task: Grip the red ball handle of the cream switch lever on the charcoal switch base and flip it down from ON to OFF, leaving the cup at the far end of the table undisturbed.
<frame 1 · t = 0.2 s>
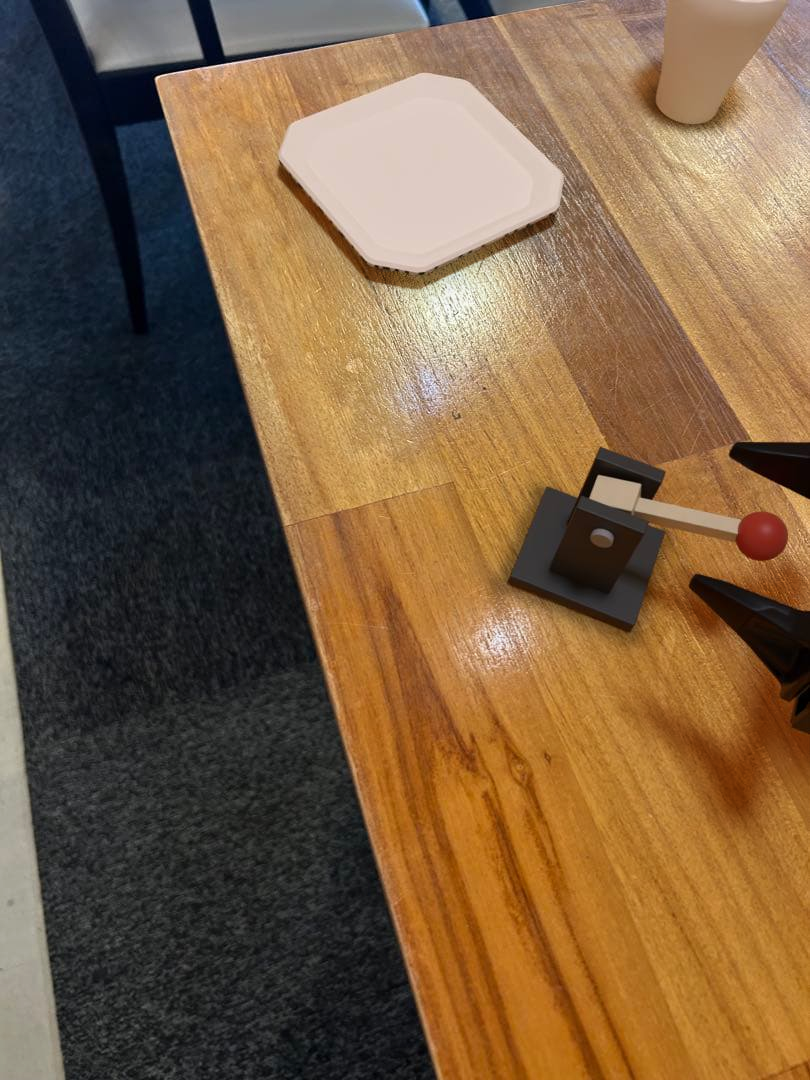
hand: (712, 511, 53), 15 cm above the table, tool horizontal, fingers open, 9 cm apart
switch lever: (686, 519, 59), point 9 cm above the table, hinge at 15.0°
cup: (685, 106, 93), on the table
plate: (419, 185, 85), on the table
switch base: (585, 560, 68), on the table
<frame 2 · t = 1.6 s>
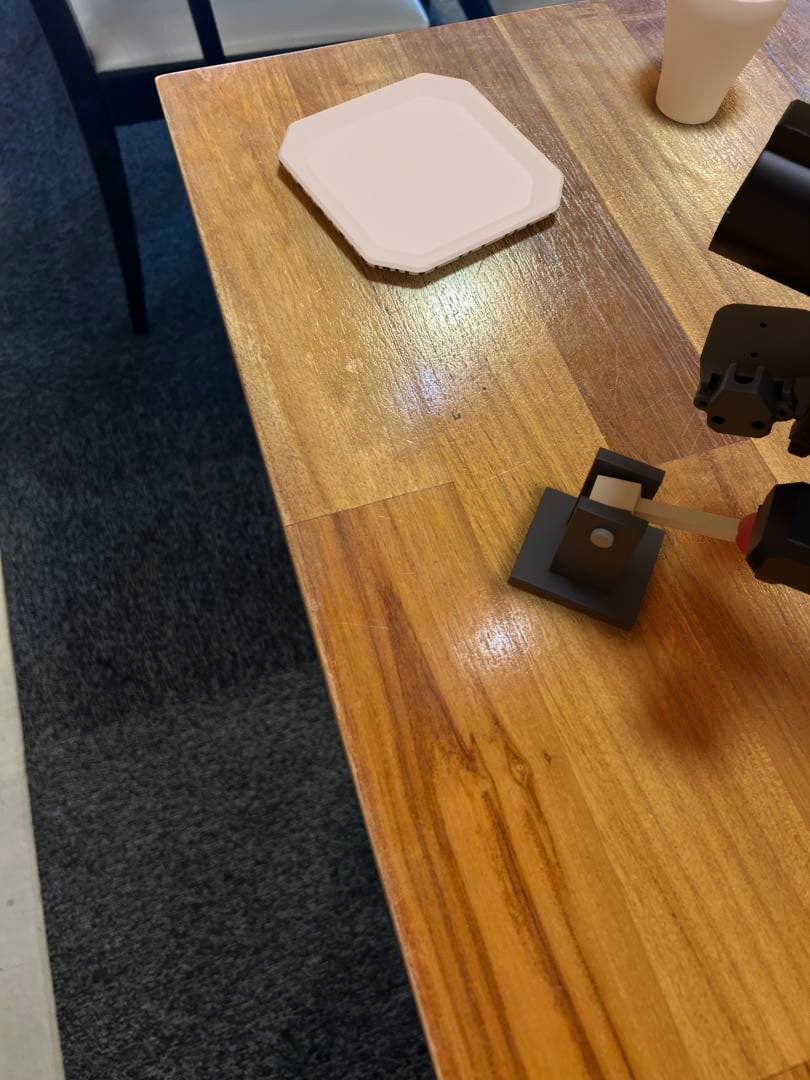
hand: (779, 513, 55), 13 cm above the table, tool pointing down, fingers open, 9 cm apart
nothing on the table moved.
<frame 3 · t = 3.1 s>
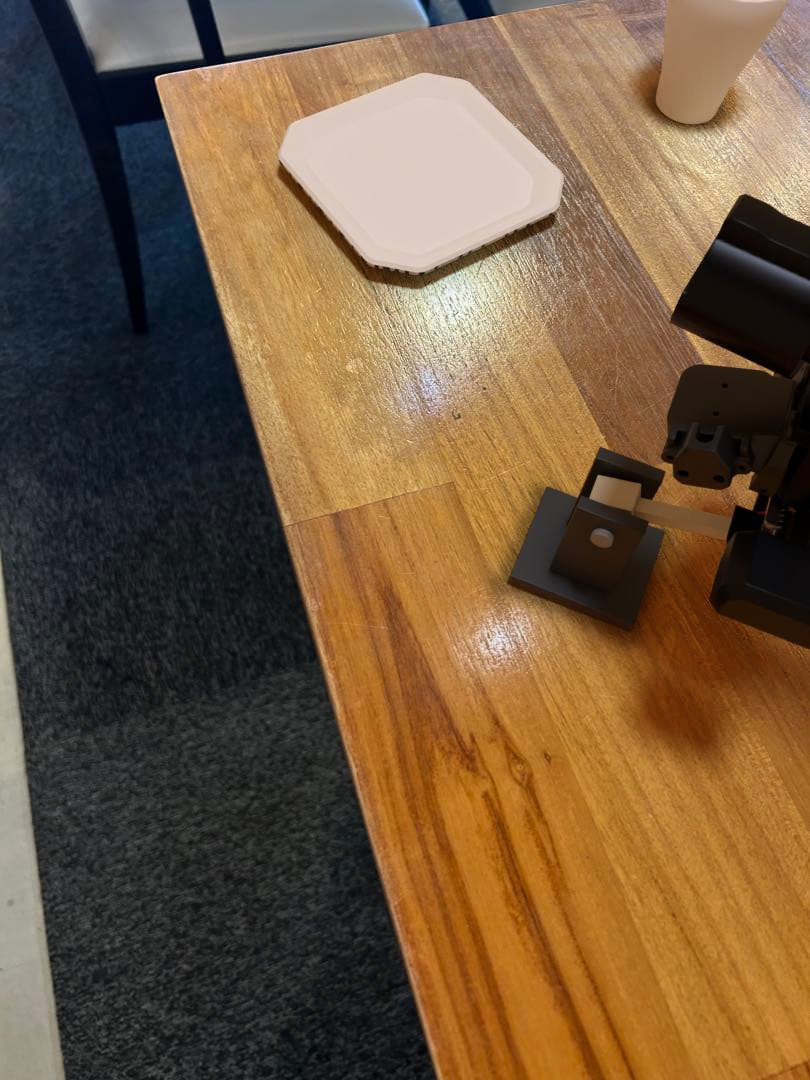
hand: (748, 551, 59), 8 cm above the table, tool pointing down, fingers closed on switch lever, 3 cm apart
switch lever: (686, 519, 59), point 9 cm above the table, hinge at 15.0°, touching gripper
everything else where it was.
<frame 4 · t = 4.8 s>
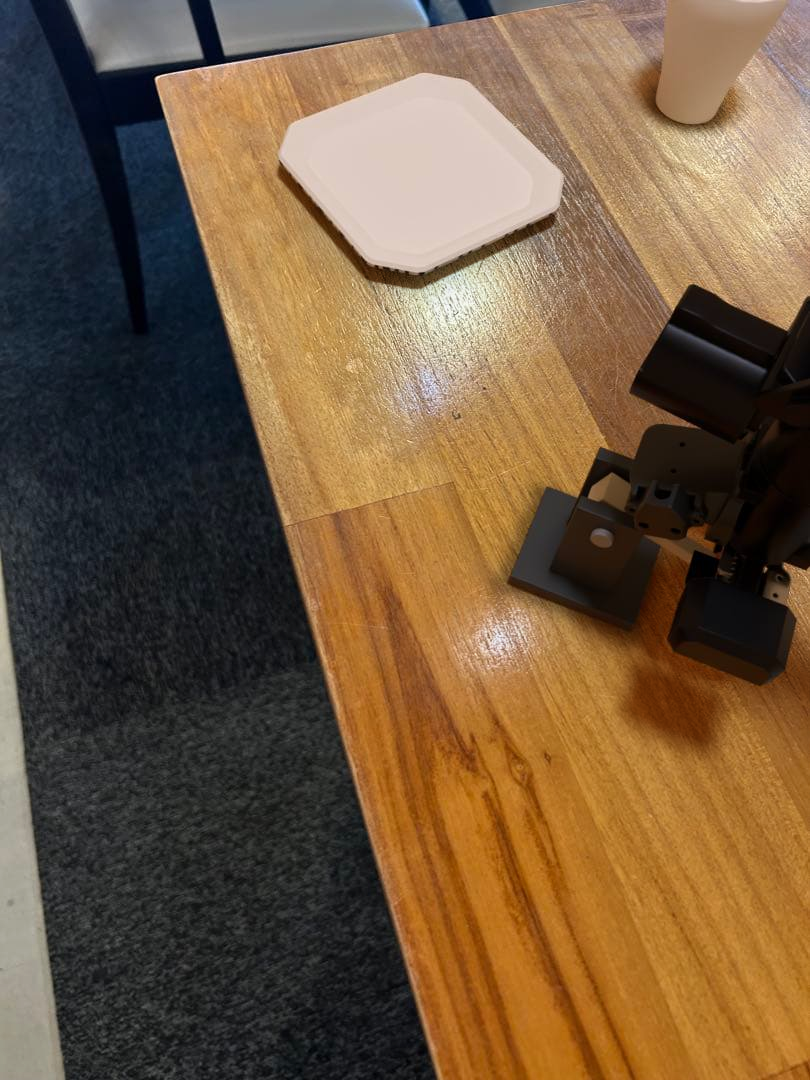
hand: (709, 588, 64), 3 cm above the table, tool pointing down, fingers closed on switch lever, 3 cm apart
switch lever: (671, 539, 61), point 7 cm above the table, hinge at -19.2°, touching gripper
everything else where it was.
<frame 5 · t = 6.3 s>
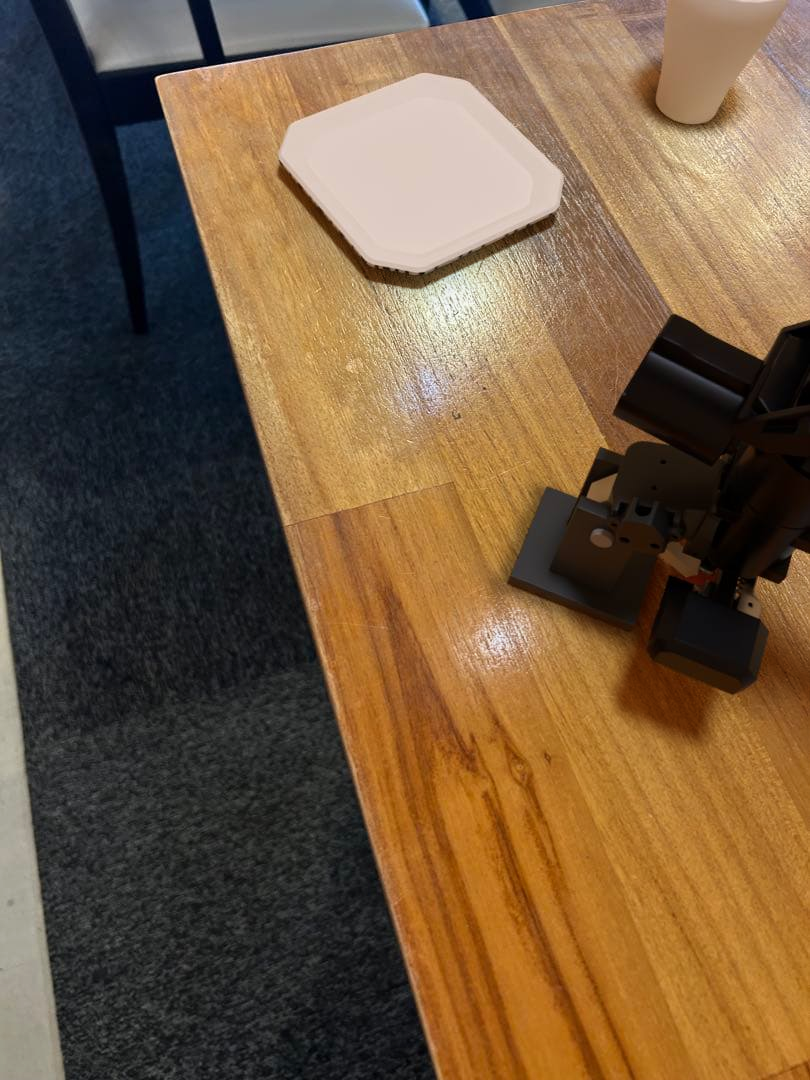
hand: (688, 596, 67), 0 cm above the table, tool pointing down, fingers open, 5 cm apart
switch lever: (662, 543, 62), point 6 cm above the table, hinge at -30.6°
everything else where it was.
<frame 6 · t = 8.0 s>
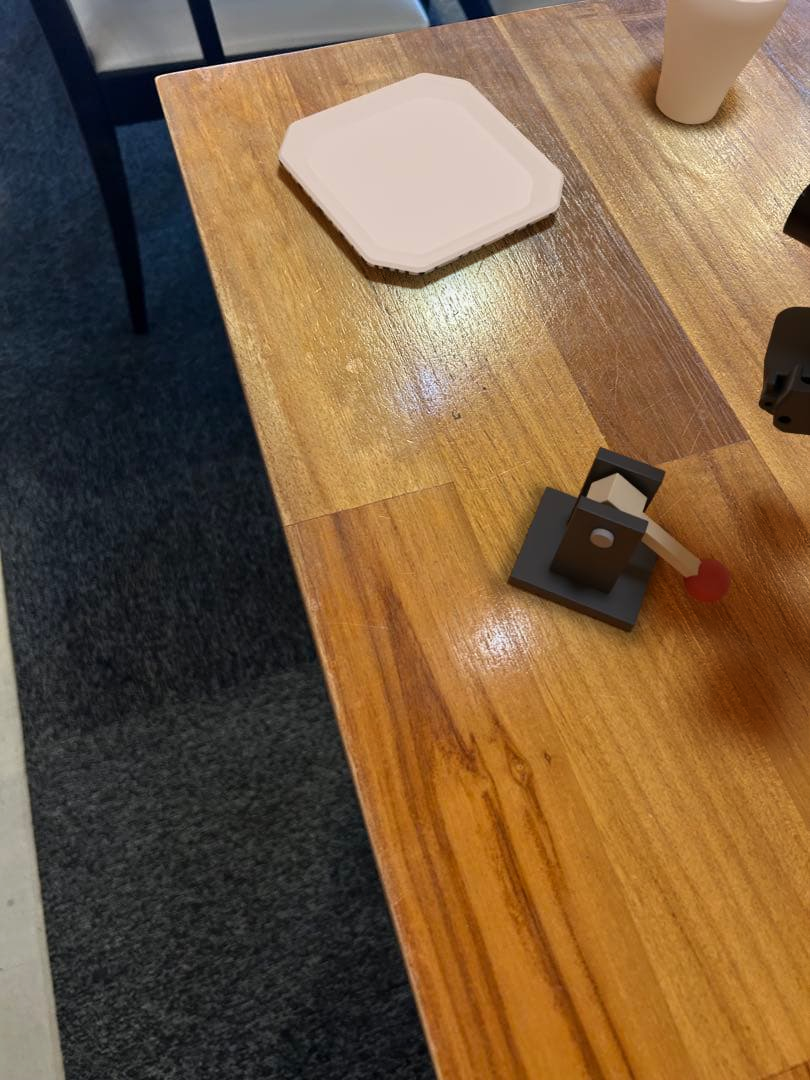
nothing on the table moved.
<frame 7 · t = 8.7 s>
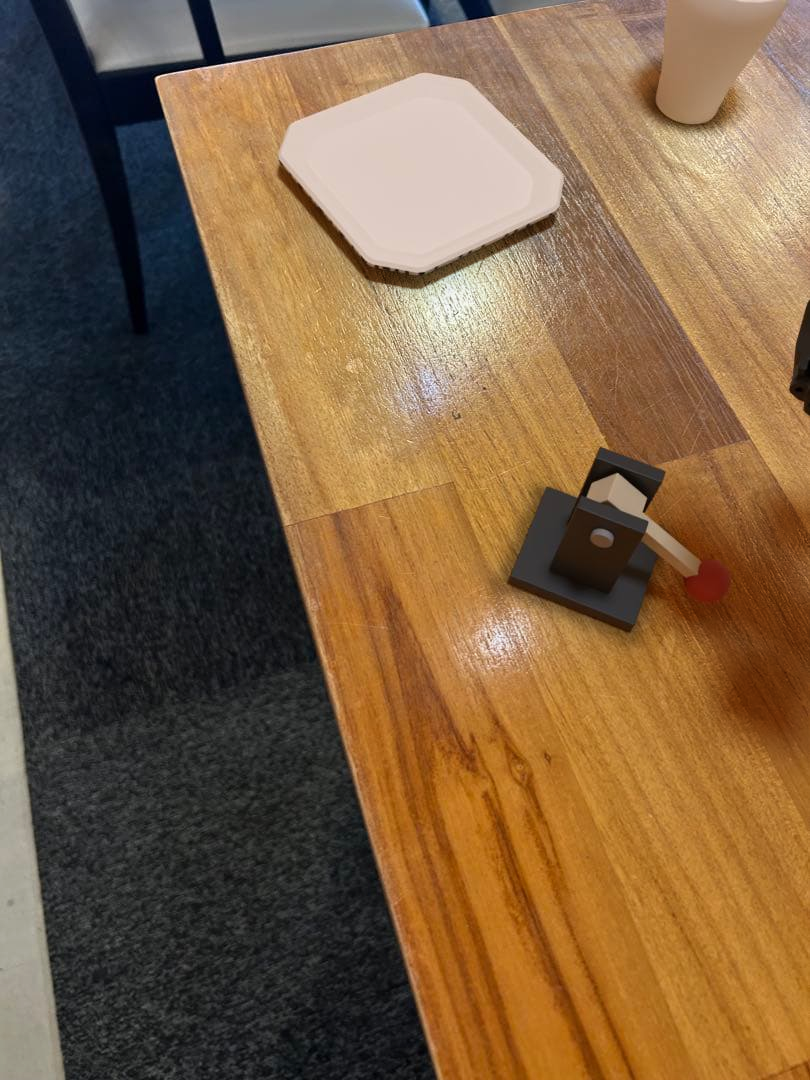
nothing on the table moved.
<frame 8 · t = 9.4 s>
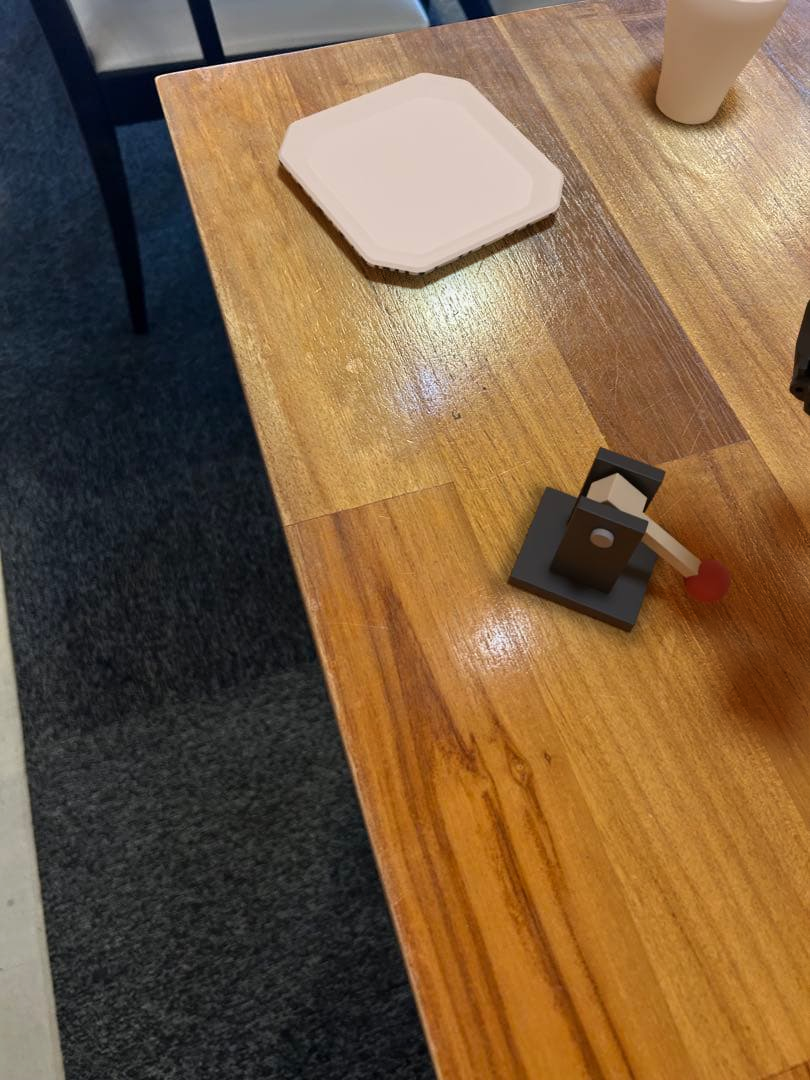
nothing on the table moved.
at the end: switch lever at -31° (first picture: +15°); cup moved 0.2 cm from its start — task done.
